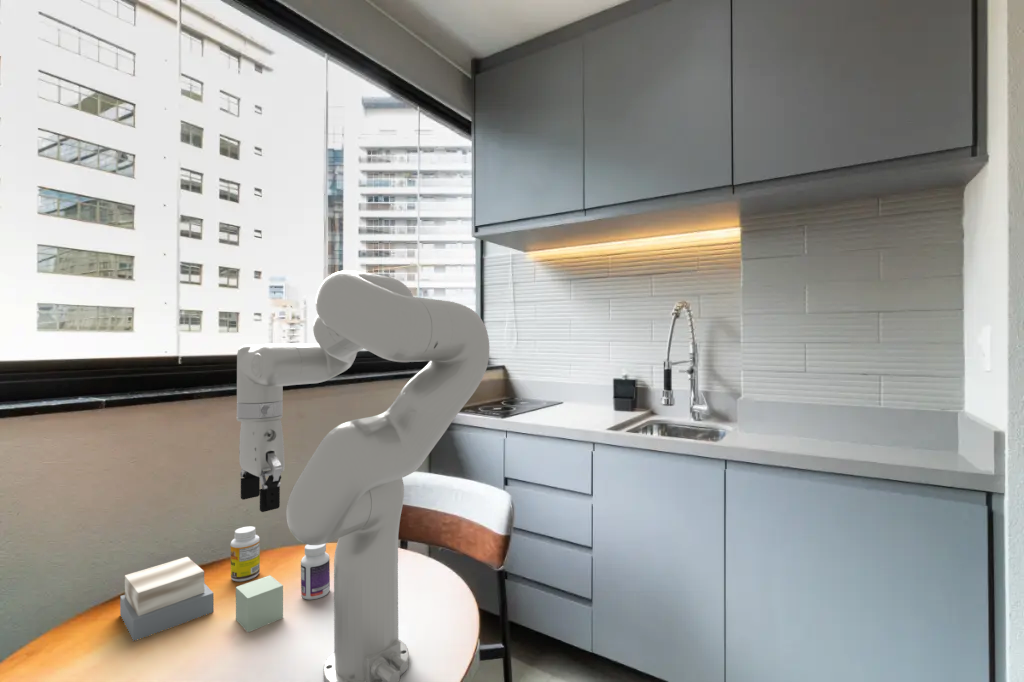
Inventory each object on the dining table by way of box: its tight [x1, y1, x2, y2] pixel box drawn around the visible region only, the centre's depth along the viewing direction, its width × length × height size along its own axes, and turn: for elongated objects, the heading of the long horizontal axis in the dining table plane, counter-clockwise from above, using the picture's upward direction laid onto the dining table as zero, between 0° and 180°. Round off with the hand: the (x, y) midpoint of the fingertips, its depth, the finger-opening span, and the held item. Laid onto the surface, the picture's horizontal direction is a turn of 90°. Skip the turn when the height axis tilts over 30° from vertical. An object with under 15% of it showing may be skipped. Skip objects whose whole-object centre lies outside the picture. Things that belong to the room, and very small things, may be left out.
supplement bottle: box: [230, 525, 261, 583], centre depth 104 cm, size 6×6×10 cm
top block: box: [124, 556, 205, 616], centre depth 89 cm, size 10×10×4 cm
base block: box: [119, 582, 215, 642], centre depth 89 cm, size 12×12×4 cm
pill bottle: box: [300, 543, 331, 601], centre depth 96 cm, size 5×5×10 cm
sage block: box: [235, 574, 284, 633], centre depth 87 cm, size 6×6×6 cm
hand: (259, 503), depth 88 cm, fingers open, 9 cm apart
